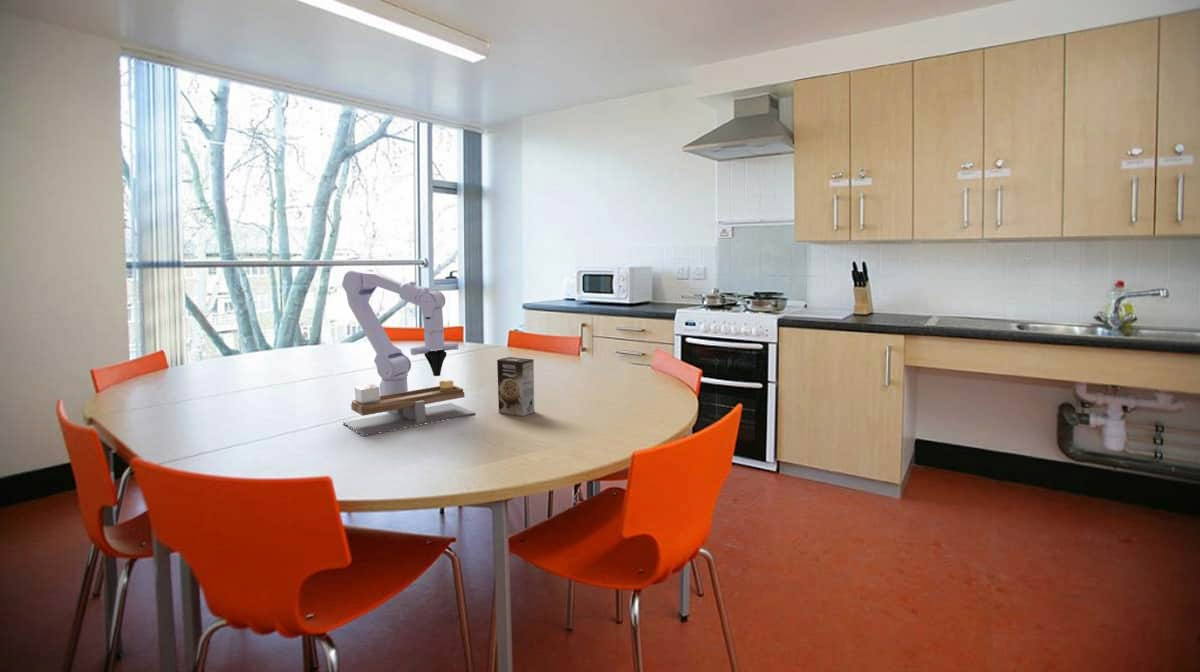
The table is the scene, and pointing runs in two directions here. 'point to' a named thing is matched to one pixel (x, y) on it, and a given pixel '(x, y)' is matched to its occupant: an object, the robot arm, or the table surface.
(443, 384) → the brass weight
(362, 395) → the steel block
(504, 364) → the coffee box
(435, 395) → the beam
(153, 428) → the table surface
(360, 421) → the beam stand
